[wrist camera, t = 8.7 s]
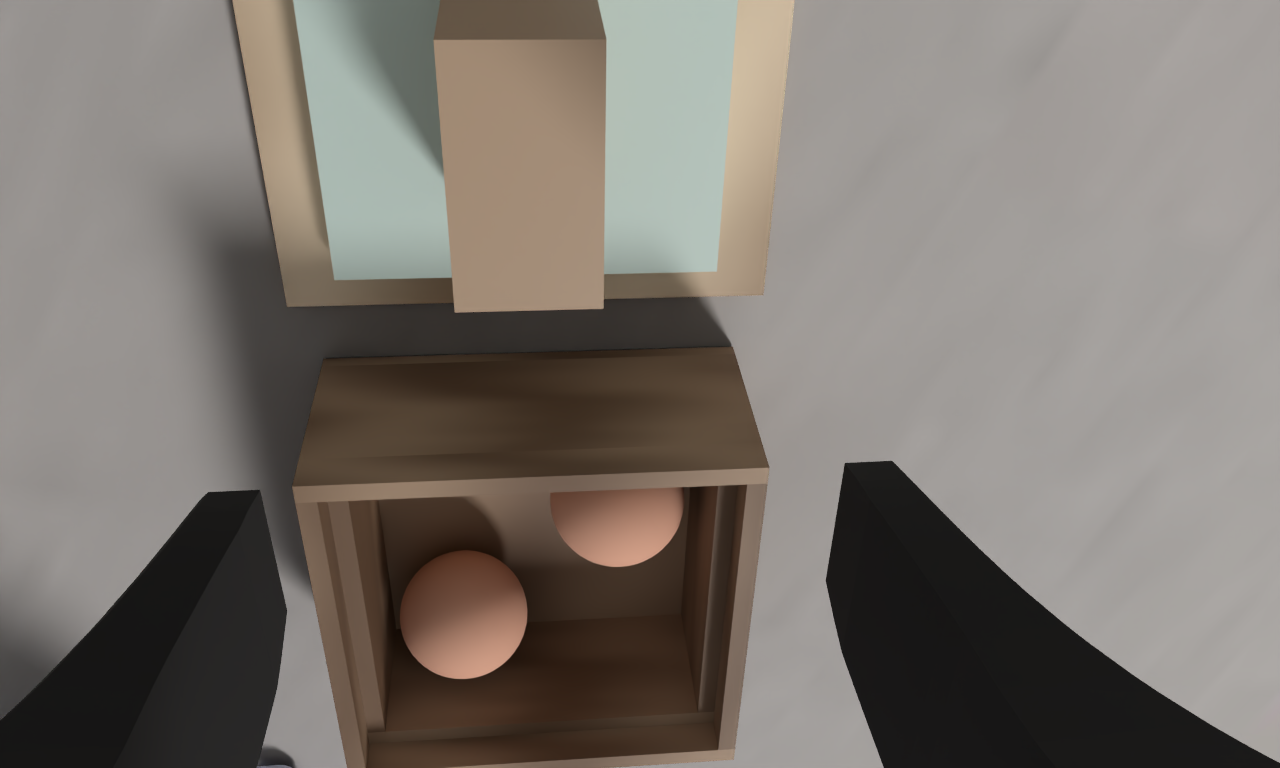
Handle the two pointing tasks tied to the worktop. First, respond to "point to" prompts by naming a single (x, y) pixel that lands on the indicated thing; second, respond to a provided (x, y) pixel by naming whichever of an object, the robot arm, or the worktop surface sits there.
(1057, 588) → the worktop surface
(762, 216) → the mat
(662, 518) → the ball
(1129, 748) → the robot arm
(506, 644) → the ball
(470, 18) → the lid
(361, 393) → the box
